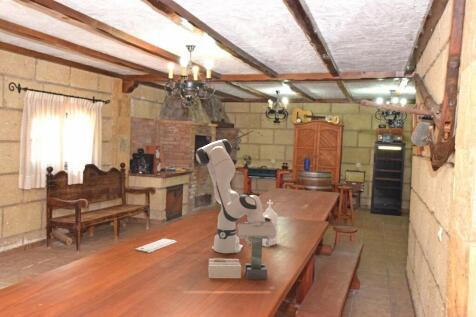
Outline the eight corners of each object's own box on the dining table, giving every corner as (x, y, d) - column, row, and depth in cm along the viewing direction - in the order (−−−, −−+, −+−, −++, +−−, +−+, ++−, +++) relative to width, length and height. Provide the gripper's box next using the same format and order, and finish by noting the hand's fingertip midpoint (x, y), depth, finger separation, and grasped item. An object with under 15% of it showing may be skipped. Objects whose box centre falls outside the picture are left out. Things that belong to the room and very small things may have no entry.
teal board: (250, 275, 211) (252, 236, 210) (260, 275, 212) (261, 237, 211) (251, 276, 209) (252, 237, 208) (260, 276, 210) (262, 238, 209)
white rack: (208, 271, 218) (208, 258, 217) (238, 271, 219) (238, 258, 219) (209, 279, 205) (209, 266, 204) (240, 280, 206) (241, 266, 206)
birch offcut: (224, 271, 216) (224, 260, 215) (233, 271, 216) (234, 260, 216) (224, 273, 213) (225, 261, 212) (234, 273, 213) (234, 261, 213)
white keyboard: (178, 243, 275) (163, 240, 279) (178, 238, 274) (163, 236, 279) (151, 254, 246) (134, 251, 251) (151, 249, 246) (135, 246, 251)
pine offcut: (213, 271, 215) (214, 258, 215) (223, 271, 216) (223, 258, 215) (213, 273, 212) (214, 259, 212) (223, 273, 213) (224, 259, 212)
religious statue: (252, 245, 276) (254, 201, 274) (260, 240, 288) (261, 198, 286) (276, 249, 269) (278, 203, 267) (283, 244, 281) (285, 200, 279)
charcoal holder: (244, 274, 215) (245, 263, 215) (263, 274, 216) (263, 263, 216) (247, 281, 205) (247, 269, 204) (266, 281, 206) (267, 269, 206)
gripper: (237, 219, 218) (239, 242, 209) (275, 219, 221) (278, 241, 212) (236, 225, 223) (238, 248, 214) (273, 225, 226) (276, 248, 216)
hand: (258, 245), depth 213 cm, fingers open, 8 cm apart
